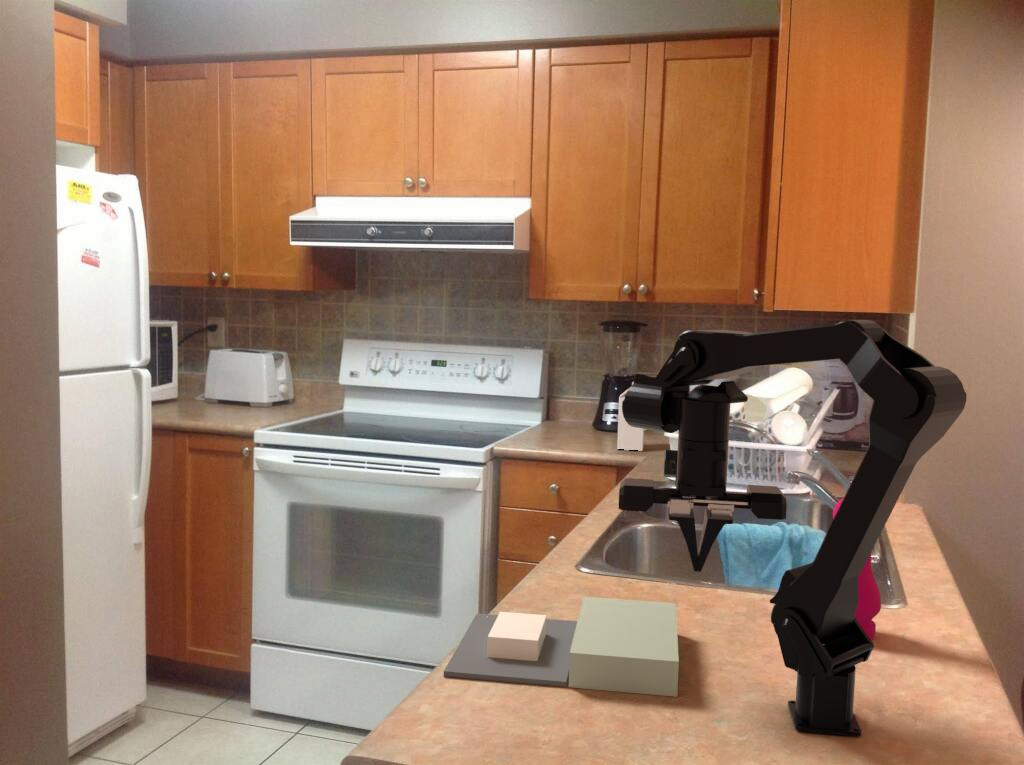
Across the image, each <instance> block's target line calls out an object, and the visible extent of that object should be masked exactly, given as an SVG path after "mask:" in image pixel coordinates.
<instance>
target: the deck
mask: <svg viewBox="0 0 1024 765" xmlns="http://www.w3.org/2000/svg"><path fill="white" fill-rule="evenodd" d="M676 607H677V605H676V603H675V602H662V601H649V600H636V599H635V600H634V599H621V598H608V597H597V596H596V597H595V596H594V597H593V596H583V597H582V601H581V606H580V610H579V613H578V618H577V620H576V621H577V625H576V629H575V633H574V637H573V641H572V645H571V649H570V658H569V676H568V688H573V689H583V690H585V689H587V690H595V691H596V690H597V691H606V692H607V691H608V692H609V691H610V692H619V693H631V694H641V695H642V694H643V695H652V696H665V697H676V698H677V697H678V689H679V687H678V686H679V663H680V660H679V642H678V641H679V639H678V624H677V623H678V622H677V608H676Z"/></svg>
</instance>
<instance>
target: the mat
mask: <svg viewBox="0 0 1024 765" xmlns="http://www.w3.org/2000/svg"><path fill="white" fill-rule="evenodd" d="M498 615H499V614H490V613H489V614H488V613H476V614H475V616H474V617H473V619H472V621H471V623H470V624H469V626H468V628H467V630H466V631H465V633H464V635H463V637H462V638H461V640H460V642H459V644H458V646H457V648H456V649H455V651H454V652H453V654H452V655H451V656H452V657H450V660H449V662H448V663H447V664H446V666H445V667H444V670H443V677H446V678H459V679H469V680H470V679H471V680H480V681H493V682H505V683H516V684H528V685H538V686H551V687H561V688H566V687H567V685H568V684H567V683H568V681H569V658H570V649H571V645H572V641H573V637H574V633H575V629H576V625H577V621H578V620H569V619H568V620H567V619H557V618H556V619H554V618H546V636H545V639H544V642H543V645H542V648H541V651H540V654H539V657H538V661H529V660H517V659H505V658H493V657H487V645H488V635H489V633H490V631H491V629H492V627H493V625H494V623H495V621H496V619H497V617H498ZM487 616H488V617H487ZM486 617H487V618H486Z"/></svg>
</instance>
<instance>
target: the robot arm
mask: <svg viewBox="0 0 1024 765" xmlns="http://www.w3.org/2000/svg"><path fill="white" fill-rule="evenodd" d="M835 360H836V361H837V360H840V361H841V362H842V363H843V364H844V365H846V367H847V369H848V371H849V372H850V374H851V375H852V377H853V379H854V380H855V383H856V384H857V385H858V387H859V388H860V389H861V390H862V391H863V392H864V393H866V395H868V396H869V397H870V398H871V399H872V400H873V401H872V405H871V409H870V411H869V415H868V437H869V442H868V446H867V449H866V450H865V453H864V455H863V457H862V459H861V462H860V464H859V466H858V468H857V469H856V472H855V474H854V476H853V478H852V480H851V482H850V484H849V487H848V489H847V490H846V493H845V495H844V497H843V498H844V499H843V498H842V499H843V501H842V503H841V505H840V507H839V509H838V511H837V513H836V515H835V517H834V520H832V522H831V524H830V526H829V528H828V530H827V532H826V533H825V536H824V538H823V539H822V540H823V541H822V543H821V544H820V547H819V549H818V550H817V553H816V555H815V557H814V559H813V561H812V562H810V563H807V564H803V565H801V566H796V567H793V568H791V569H786V570H785V571H784V573H783V575H782V577H781V580H780V583H779V587H778V590H777V592H776V593H775V595H774V596H773V597H772V598H770V599H769V603H770V604H774V605H773V607H772V610H771V613H770V623H771V624H772V625H773V628H774V632H775V633H776V636H777V639H778V643H779V648H780V652H781V655H782V660H783V663H784V667H786V668H788V669H791V670H792V671H795V672H796V673H797V674H796V689H795V691H796V693H795V700H791V699H790V700H788V701H787V708H788V712H789V714H790V717H791V718H790V719H791V720H792V723H793V726H794V729H795V730H796V731H799V732H807V733H818V734H827V735H839V736H852V737H861V736H862V729H861V727H860V725H859V722H858V721H857V720H858V719H856V716H855V713H854V702H855V701H854V698H855V686H856V682H855V681H856V671H857V670H856V668H857V667H856V665H859V664H860V663H864V662H867V661H869V658H870V656H871V654H872V652H873V650H874V646H875V645H874V643H873V641H872V640H870V638H869V637H868V635H867V634H866V633H865V631H864V630H863V628H862V627H861V626H860V624H859V623H858V621H857V620H856V619H855V617H854V616H855V612H856V609H857V605H858V602H859V593H858V579H859V575H860V573H861V571H862V569H863V567H864V565H865V563H866V561H867V559H868V557H869V555H870V554H871V555H872V553H873V552H872V551H873V550H874V548H875V547H876V546H875V544H876V545H877V541H878V540H879V538H880V535H881V534H882V532H883V529H884V528H885V526H886V524H887V522H888V521H889V518H890V517H891V514H892V512H893V510H894V508H895V506H896V505H897V502H898V500H899V498H900V496H901V494H902V492H903V490H904V488H905V486H906V485H907V482H908V480H909V478H910V476H911V474H912V473H913V470H914V469H915V467H916V465H917V463H918V462H919V461H920V459H921V458H922V457H923V456H924V455H925V454H926V453H927V452H929V451H930V450H931V449H932V448H933V447H934V446H935V445H936V444H937V443H938V442H939V441H940V440H941V439H942V438H943V437H944V436H945V435H946V433H947V432H948V431H949V430H950V428H951V426H953V424H954V423H955V422H956V420H958V418H959V417H960V415H961V414H962V412H963V411H964V409H965V406H966V404H967V392H966V390H965V388H964V385H963V382H962V381H961V379H960V378H959V377H958V375H957V374H956V373H955V372H953V371H952V370H950V369H949V368H945V367H942V366H936V365H935V364H934V363H932V362H931V361H929V360H928V358H926V357H925V356H924V355H922V354H920V353H919V352H918V351H916V350H915V349H913V348H911V347H909V345H906V344H905V343H903V342H901V341H899V340H898V339H897V338H895V337H894V336H892V335H891V334H890V333H889V332H888V331H887V330H885V329H884V328H883V327H882V326H881V325H879V323H877V322H875V321H874V320H871V319H869V320H868V319H845V320H841V321H840V322H836V323H831V324H830V323H829V324H822V325H821V324H820V325H814V326H806V327H796V328H789V329H788V328H787V329H779V330H778V329H777V330H773V331H772V330H771V331H761V332H749V331H741V330H731V329H729V330H728V329H695V330H694V329H691V330H690V329H689V330H686V331H683V332H682V333H680V334H679V336H678V339H677V340H676V341H675V344H674V348H673V350H672V352H671V354H670V355H669V356H668V358H667V359H666V361H665V363H664V364H663V366H662V367H661V369H660V370H659V372H658V373H657V374H656V373H652V372H651V373H649V372H639V373H638V372H637V373H635V375H634V384H633V385H632V384H631V385H630V387H628V388H627V389H628V391H627V393H626V395H625V398H624V400H623V402H622V412H623V416H624V419H625V421H626V422H627V423H628V424H629V425H630V426H632V427H636V428H642V429H644V430H649V431H656V432H663V433H667V434H674V433H675V432H678V438H677V450H675V449H664V459H663V477H664V478H673V479H674V478H675V480H674V485H675V488H674V487H673V488H672V487H659V486H658V487H657V486H656V487H655V485H654V484H655V479H653V478H651V479H650V478H631V477H625V478H624V479H623V480H622V481H621V482H620V484H619V489H618V490H619V492H618V510H621V511H624V512H625V511H628V512H642V513H644V512H645V513H647V511H648V510H650V509H651V508H652V507H653V506H654V504H659V505H667V518H668V520H669V521H675V522H677V524H678V526H679V529H680V531H681V533H682V535H683V538H684V540H685V543H686V547H687V550H688V553H689V554H688V555H689V557H690V561H691V564H692V565H691V566H692V568H693V571H694V572H695V573H696V572H698V573H701V572H702V570H703V568H704V565H705V563H706V561H707V558H708V556H709V554H710V551H711V550H712V547H713V545H714V543H715V541H716V540H717V537H718V536H719V534H720V532H721V531H722V530H723V528H724V526H725V525H733V524H734V516H733V512H735V509H743V510H744V509H746V510H747V509H748V510H750V512H752V514H753V515H754V516H755V517H756V518H757V519H763V520H777V521H778V520H779V521H783V520H786V519H787V508H788V507H787V504H788V503H787V498H786V497H785V495H784V493H783V491H782V490H781V489H780V488H779V487H778V486H776V485H761V484H759V485H758V484H747V486H746V492H744V491H729V490H728V491H727V484H728V481H727V480H728V463H729V440H730V421H731V404H740V403H747V402H748V400H749V398H748V395H746V394H745V393H744V391H743V390H741V389H740V388H739V387H738V385H737V383H736V382H735V381H734V380H726V379H730V378H733V377H736V376H739V375H743V374H746V373H749V372H751V371H754V370H756V369H759V368H763V367H766V366H776V365H778V366H779V365H788V364H799V363H801V364H802V363H811V362H812V363H813V362H825V361H835ZM723 379H724V380H726V381H721V383H719V385H717V386H715V385H711V384H712V382H714V381H715V380H723ZM709 384H710V385H709ZM691 386H695V387H694V388H693V389H691V391H690V387H691ZM694 507H704V513H703V514H704V515H703V516H704V517H703V525H702V530H701V534H700V535H701V536H700V541H699V547H698V544H697V532H696V523H695V522H696V521H695V511H694ZM874 546H875V547H874ZM871 552H872V553H871Z"/></svg>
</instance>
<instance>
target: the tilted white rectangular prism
mask: <svg viewBox="0 0 1024 765" xmlns="http://www.w3.org/2000/svg"><path fill="white" fill-rule="evenodd" d="M497 615H498V617H497V619H496V621H495V623H494V625H493V627H492V629H491V631H490V633H489V635H488V645H487V657H493V658H505V659H517V660H529V661H538V657H539V654H540V651H541V648H542V645H543V642H544V639H545V636H546V619H547V615H546V614H535V613H534V614H533V613H522V612H521V613H520V612H509V611H508V612H507V611H499V612H498V614H497Z"/></svg>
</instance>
